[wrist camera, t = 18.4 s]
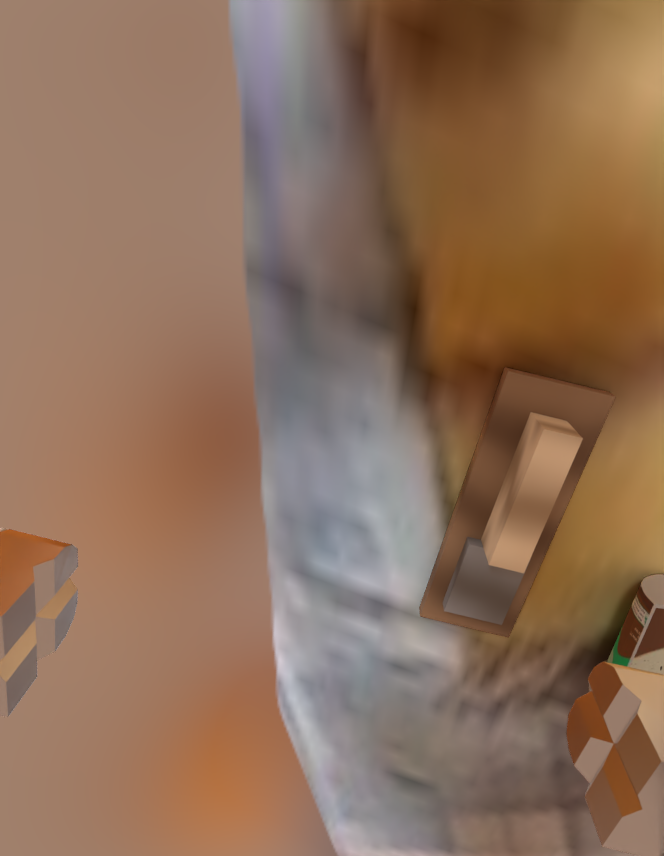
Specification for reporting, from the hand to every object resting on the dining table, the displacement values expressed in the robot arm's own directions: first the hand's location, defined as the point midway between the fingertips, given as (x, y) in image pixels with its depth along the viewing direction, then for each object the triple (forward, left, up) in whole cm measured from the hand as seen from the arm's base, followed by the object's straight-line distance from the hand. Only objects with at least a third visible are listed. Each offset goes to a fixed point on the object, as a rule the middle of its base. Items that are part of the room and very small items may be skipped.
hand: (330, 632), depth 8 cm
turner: (+11, +13, -27) cm, 32 cm away
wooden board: (+11, +13, -28) cm, 33 cm away
